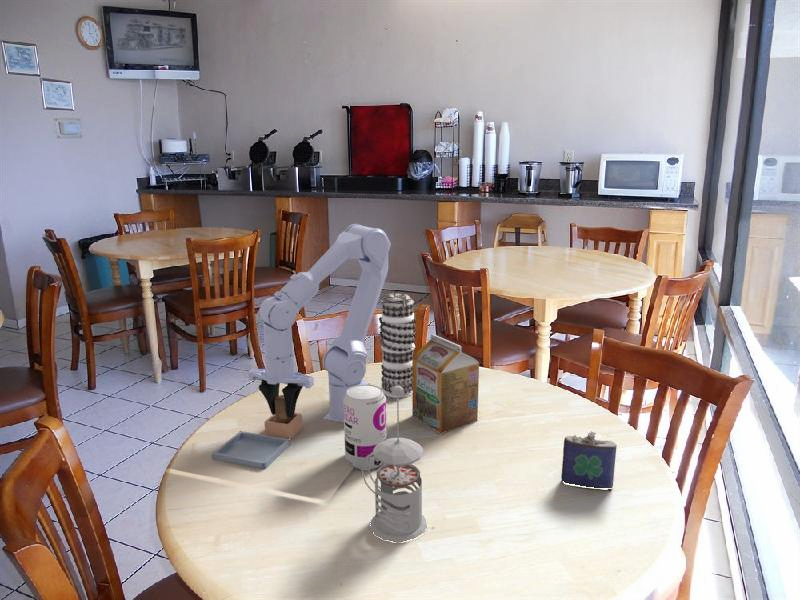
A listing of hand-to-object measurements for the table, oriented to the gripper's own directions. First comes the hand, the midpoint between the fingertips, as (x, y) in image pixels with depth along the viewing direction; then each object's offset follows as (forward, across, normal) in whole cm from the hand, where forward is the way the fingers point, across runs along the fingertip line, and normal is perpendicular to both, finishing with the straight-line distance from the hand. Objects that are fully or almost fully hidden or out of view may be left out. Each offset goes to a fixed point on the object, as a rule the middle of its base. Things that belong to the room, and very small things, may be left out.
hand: (283, 413), depth 131 cm
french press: (+5, +33, -22) cm, 40 cm away
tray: (+5, -2, -10) cm, 11 cm away
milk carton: (+5, +31, +18) cm, 36 cm away
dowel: (+4, 0, 0) cm, 4 cm away
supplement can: (+5, +21, -4) cm, 22 cm away
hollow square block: (+5, 0, 0) cm, 5 cm away
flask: (+5, +63, 0) cm, 63 cm away
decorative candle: (+5, +16, +30) cm, 34 cm away
